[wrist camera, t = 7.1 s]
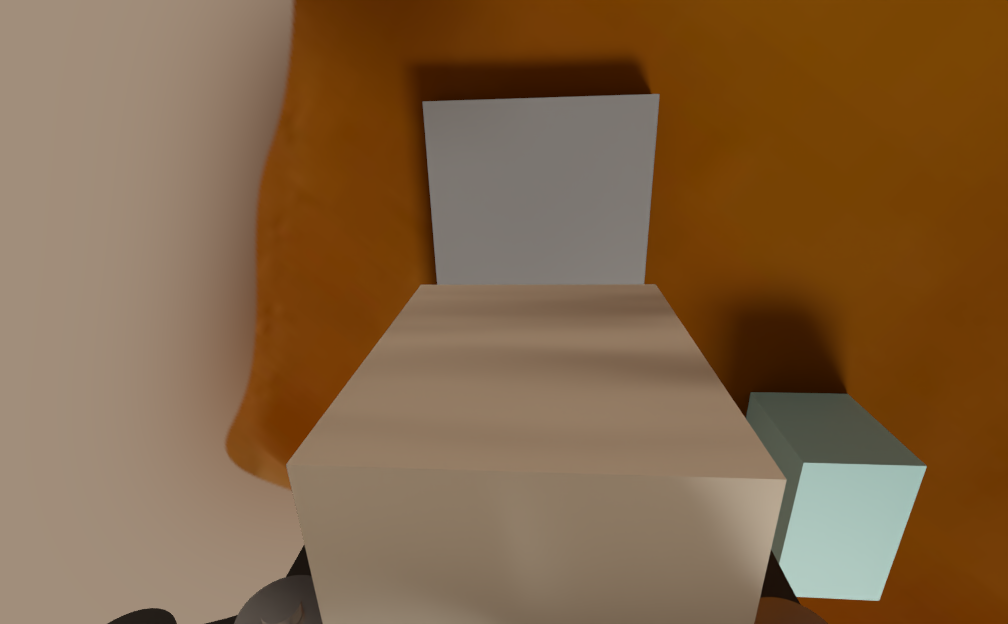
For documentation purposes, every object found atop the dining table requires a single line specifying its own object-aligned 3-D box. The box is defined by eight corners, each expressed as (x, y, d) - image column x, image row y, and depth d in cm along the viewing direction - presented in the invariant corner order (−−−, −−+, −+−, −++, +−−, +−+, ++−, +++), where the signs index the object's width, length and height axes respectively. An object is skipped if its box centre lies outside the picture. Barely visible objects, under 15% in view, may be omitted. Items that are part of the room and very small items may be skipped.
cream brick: (420, 284, 11) (286, 464, 5) (655, 284, 10) (786, 479, 5) (446, 559, 14) (378, 864, 8) (630, 567, 13) (692, 896, 8)
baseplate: (430, 102, 23) (422, 101, 21) (652, 95, 22) (659, 93, 20) (452, 402, 28) (447, 417, 27) (628, 406, 28) (632, 421, 26)
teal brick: (750, 391, 27) (803, 462, 21) (846, 392, 26) (926, 466, 21) (729, 506, 30) (771, 595, 24) (815, 509, 29) (879, 600, 24)
